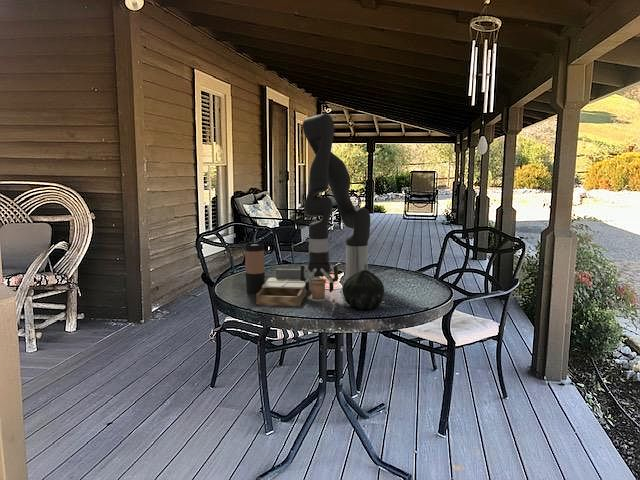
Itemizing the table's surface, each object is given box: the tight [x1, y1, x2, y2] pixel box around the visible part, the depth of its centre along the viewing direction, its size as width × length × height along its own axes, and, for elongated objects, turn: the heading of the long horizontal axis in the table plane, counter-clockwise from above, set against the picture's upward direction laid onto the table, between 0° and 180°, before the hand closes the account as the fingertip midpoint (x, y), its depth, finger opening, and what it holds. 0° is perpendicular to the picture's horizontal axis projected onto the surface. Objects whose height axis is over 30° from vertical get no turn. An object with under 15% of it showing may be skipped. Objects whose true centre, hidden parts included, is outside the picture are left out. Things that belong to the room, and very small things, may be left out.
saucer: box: [306, 294, 331, 302], centre depth 193 cm, size 9×9×1 cm
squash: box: [342, 270, 385, 311], centre depth 182 cm, size 14×15×15 cm
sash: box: [262, 268, 306, 289], centre depth 199 cm, size 16×14×4 cm
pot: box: [310, 277, 327, 300], centre depth 193 cm, size 6×6×7 cm
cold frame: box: [255, 287, 307, 307], centre depth 195 cm, size 16×24×5 cm, turn 174°
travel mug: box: [244, 242, 266, 294], centre depth 203 cm, size 8×8×20 cm
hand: (319, 291), depth 193 cm, fingers open, 8 cm apart
